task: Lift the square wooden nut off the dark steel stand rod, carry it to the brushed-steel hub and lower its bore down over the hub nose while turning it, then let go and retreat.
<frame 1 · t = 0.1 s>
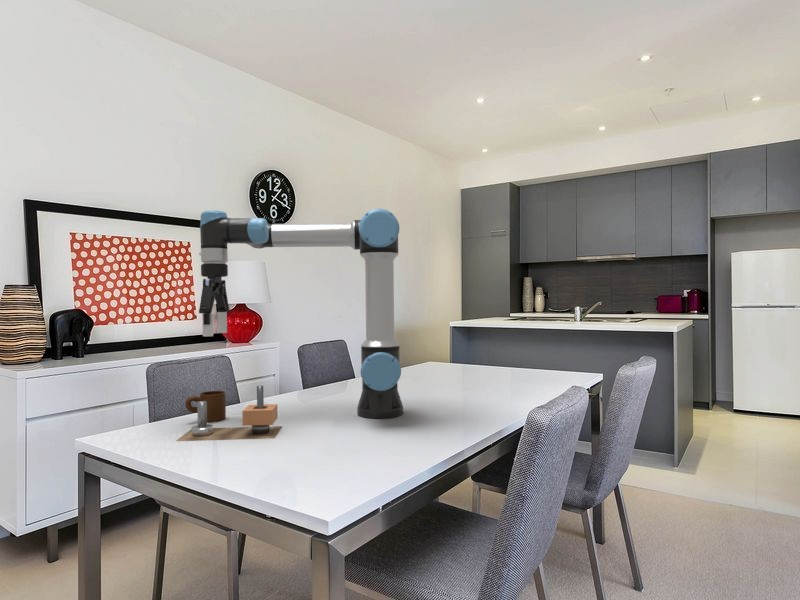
hand: (215, 334, 155), 28 cm above the table, fingers open, 13 cm apart
stand: (260, 432, 146), resting on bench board
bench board: (231, 436, 145), on the table
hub: (202, 434, 145), resting on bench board
square wooden nut: (260, 421, 146), point 4 cm above the table, touching stand
mug: (205, 424, 160), on the table
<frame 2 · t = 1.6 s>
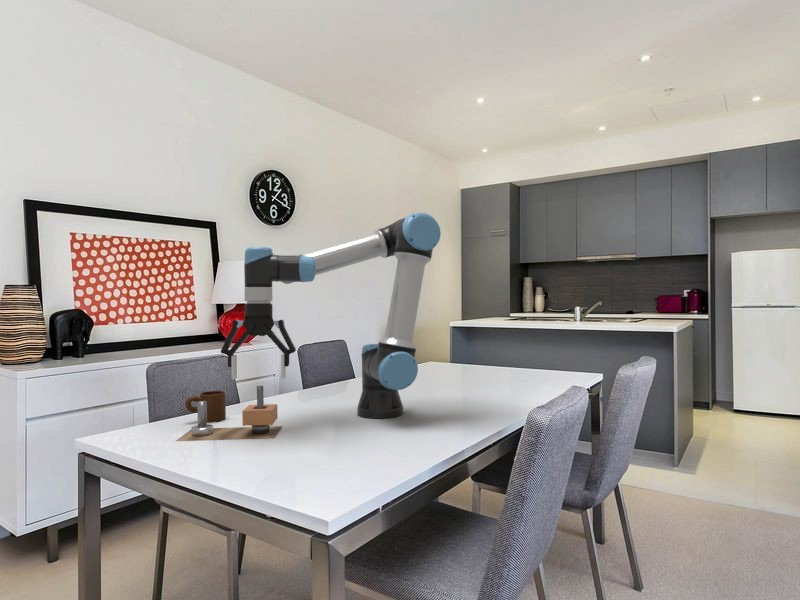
hand: (258, 378, 145), 16 cm above the table, fingers open, 13 cm apart
nothing on the table moved.
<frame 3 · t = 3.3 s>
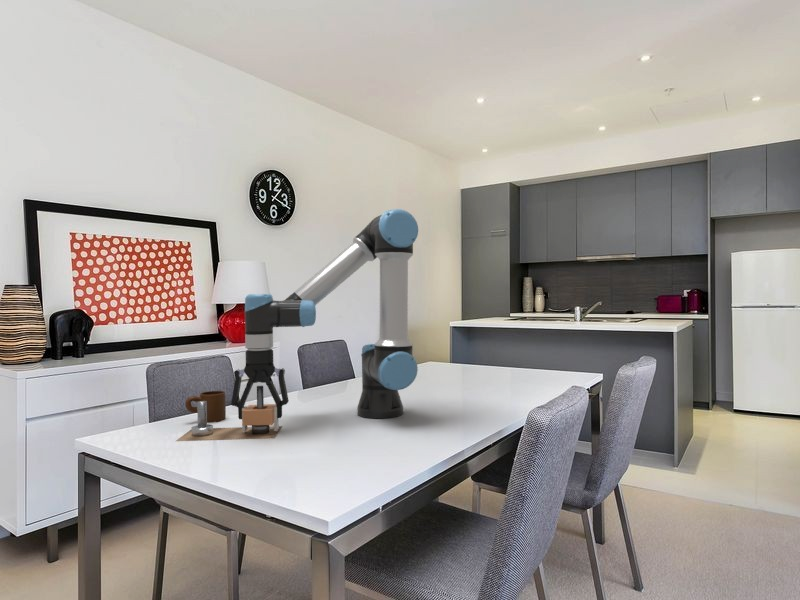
hand: (260, 430, 146), 2 cm above the table, fingers closed on square wooden nut, 8 cm apart
square wooden nut: (260, 421, 146), point 4 cm above the table, touching gripper, stand
everything else where it was.
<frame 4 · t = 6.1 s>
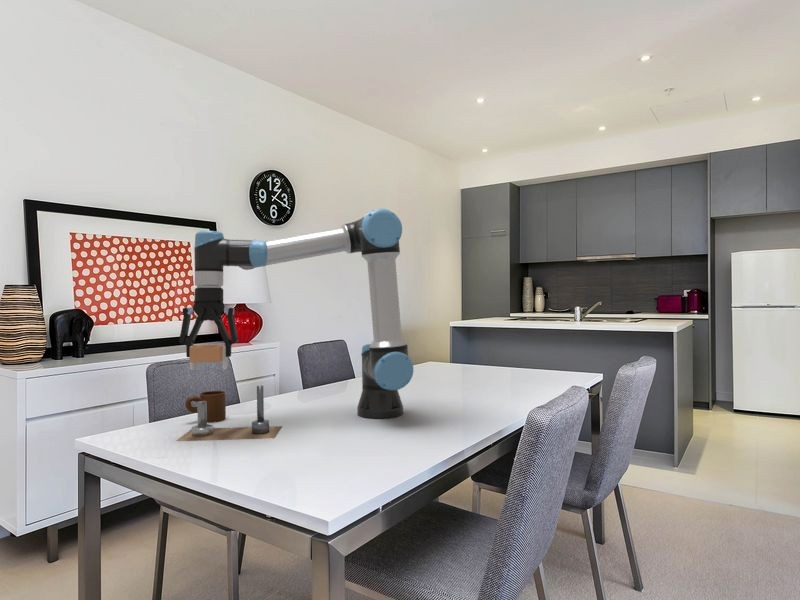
hand: (209, 368, 145), 19 cm above the table, fingers closed on square wooden nut, 8 cm apart
square wooden nut: (209, 360, 144), point 22 cm above the table, touching gripper
everything else where it was.
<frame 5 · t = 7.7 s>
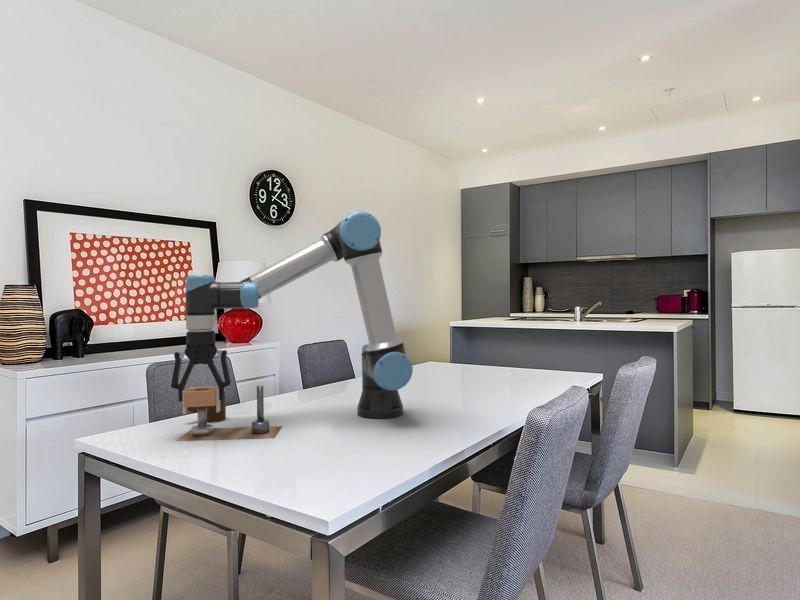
hand: (201, 412, 145), 7 cm above the table, fingers closed on square wooden nut, 8 cm apart
square wooden nut: (201, 403, 145), point 9 cm above the table, touching gripper
everything else where it was.
when the fingers open (3 cm above the table, at t = 9.0 s): square wooden nut drops 2 cm, resting on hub.
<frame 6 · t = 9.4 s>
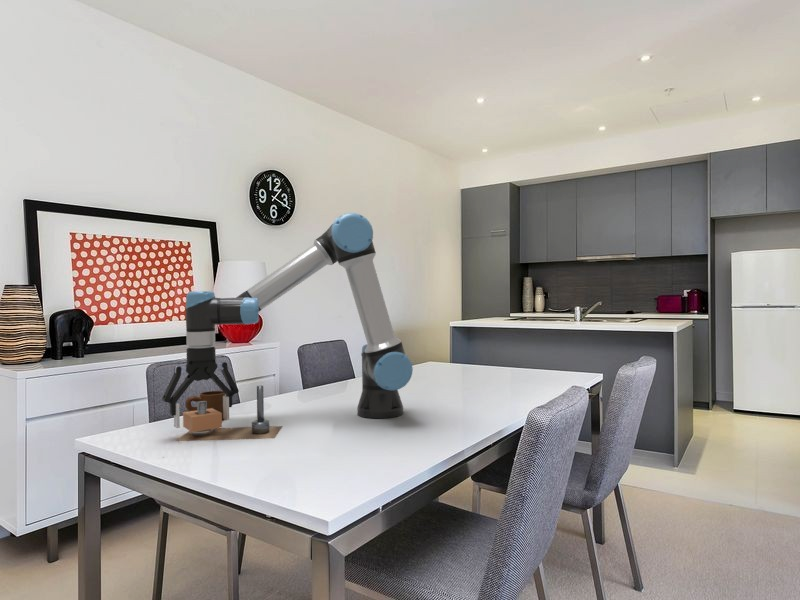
hand: (202, 423, 145), 4 cm above the table, fingers open, 13 cm apart
square wooden nut: (202, 426, 145), point 3 cm above the table, touching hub
everything else where it was.
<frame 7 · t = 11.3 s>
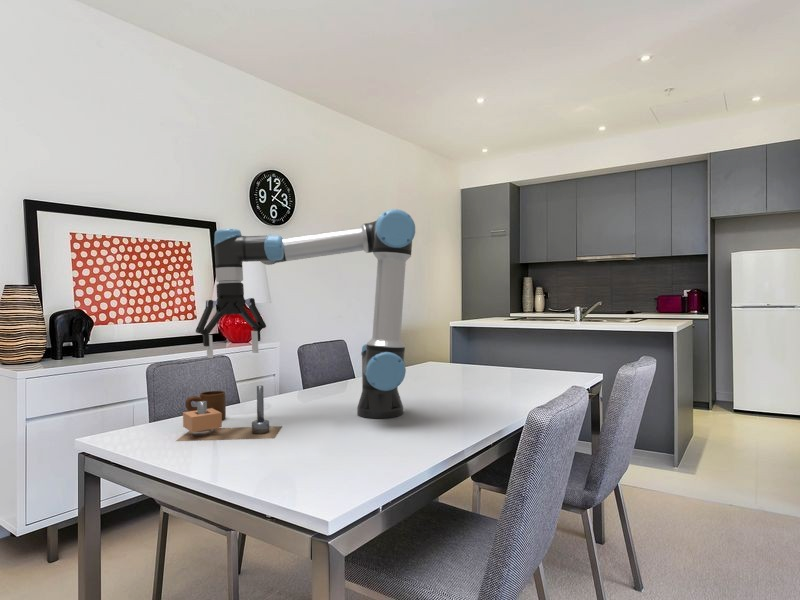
hand: (233, 355, 152), 22 cm above the table, fingers open, 13 cm apart
nothing on the table moved.
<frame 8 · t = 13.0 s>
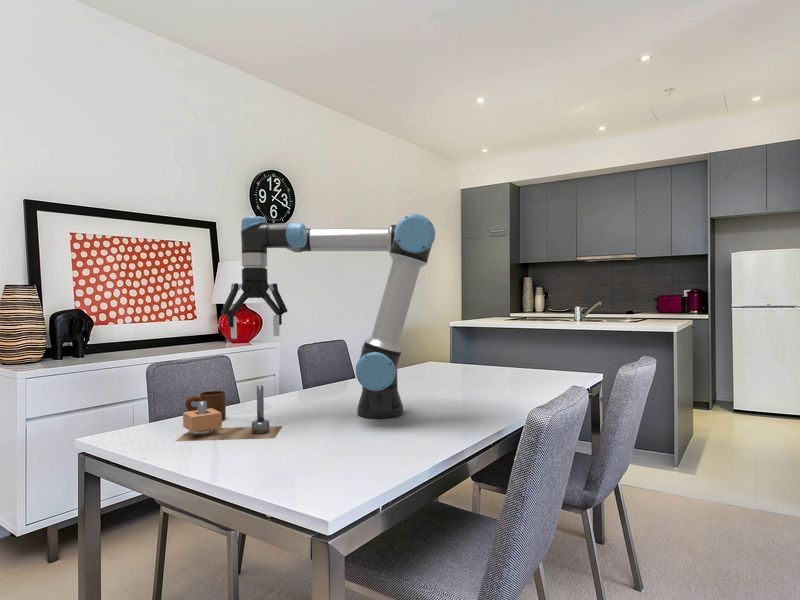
hand: (255, 337, 159), 27 cm above the table, fingers open, 13 cm apart
nothing on the table moved.
at the end: square wooden nut 0.0 cm off-centre on the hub, point 2.0 cm above the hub's base; the gripper is holding nothing; square wooden nut moved 16.0 cm from its start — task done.
